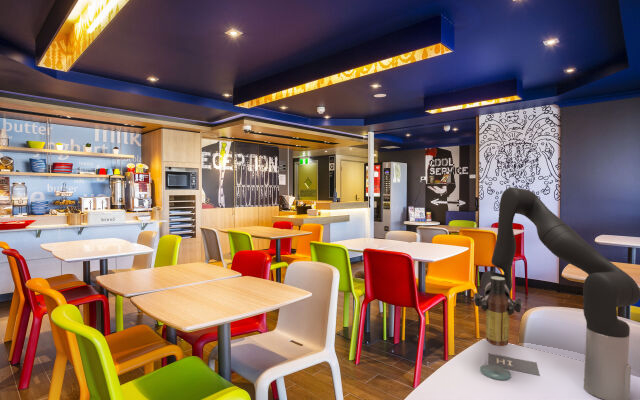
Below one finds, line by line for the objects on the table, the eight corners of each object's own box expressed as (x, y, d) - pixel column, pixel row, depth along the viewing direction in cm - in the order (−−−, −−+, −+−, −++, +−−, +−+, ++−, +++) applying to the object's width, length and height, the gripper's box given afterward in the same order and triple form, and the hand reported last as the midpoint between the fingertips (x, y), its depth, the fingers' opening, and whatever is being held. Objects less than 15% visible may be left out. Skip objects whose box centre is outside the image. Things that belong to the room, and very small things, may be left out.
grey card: (536, 362, 116) (536, 362, 116) (539, 375, 108) (539, 375, 108) (488, 353, 122) (488, 353, 122) (488, 365, 114) (488, 364, 114)
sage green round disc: (510, 370, 111) (510, 368, 111) (511, 383, 104) (512, 381, 104) (480, 363, 115) (480, 362, 115) (479, 376, 107) (479, 374, 107)
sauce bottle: (503, 338, 112) (506, 275, 111) (512, 348, 106) (515, 281, 105) (481, 337, 113) (484, 274, 112) (488, 346, 106) (492, 280, 105)
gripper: (474, 280, 125) (471, 293, 109) (521, 286, 118) (526, 301, 103) (473, 301, 125) (470, 318, 110) (520, 308, 119) (525, 326, 104)
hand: (497, 309), depth 107 cm, fingers closed on sauce bottle, 6 cm apart
